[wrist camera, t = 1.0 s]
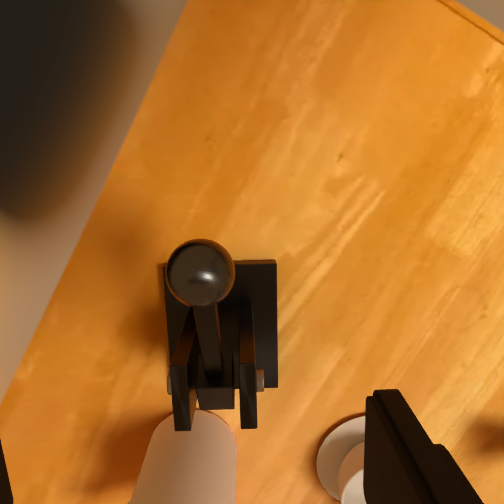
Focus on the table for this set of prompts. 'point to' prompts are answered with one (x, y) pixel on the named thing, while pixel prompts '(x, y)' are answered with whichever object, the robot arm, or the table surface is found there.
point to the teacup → (343, 462)
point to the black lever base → (228, 341)
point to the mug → (189, 464)
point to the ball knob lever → (206, 314)
